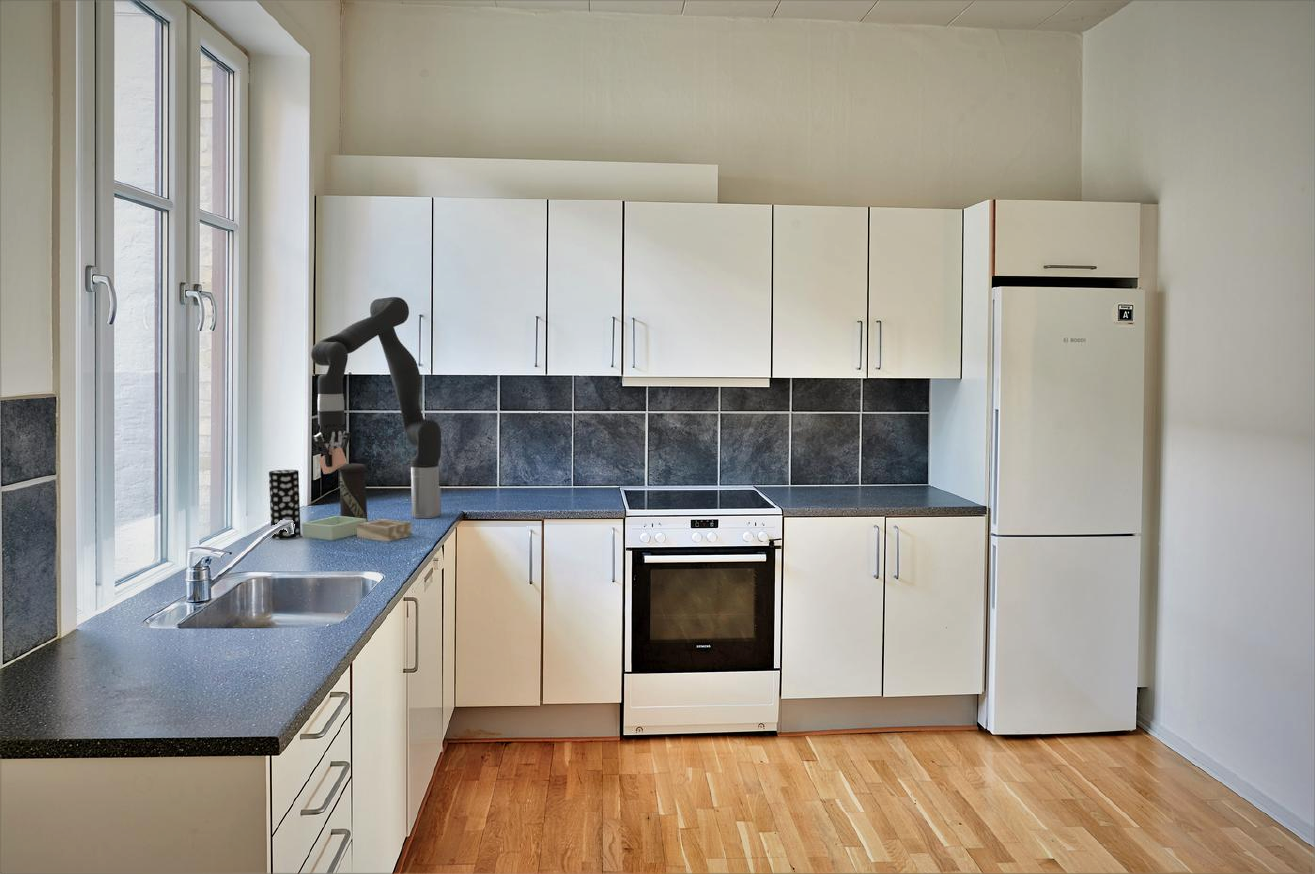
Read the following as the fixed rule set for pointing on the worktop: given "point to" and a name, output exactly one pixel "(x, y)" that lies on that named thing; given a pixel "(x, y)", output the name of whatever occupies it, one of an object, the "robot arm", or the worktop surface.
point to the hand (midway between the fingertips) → (332, 466)
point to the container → (353, 491)
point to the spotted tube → (285, 500)
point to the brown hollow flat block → (384, 530)
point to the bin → (331, 527)
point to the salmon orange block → (333, 461)
